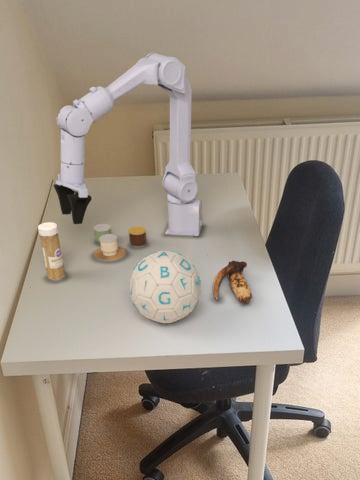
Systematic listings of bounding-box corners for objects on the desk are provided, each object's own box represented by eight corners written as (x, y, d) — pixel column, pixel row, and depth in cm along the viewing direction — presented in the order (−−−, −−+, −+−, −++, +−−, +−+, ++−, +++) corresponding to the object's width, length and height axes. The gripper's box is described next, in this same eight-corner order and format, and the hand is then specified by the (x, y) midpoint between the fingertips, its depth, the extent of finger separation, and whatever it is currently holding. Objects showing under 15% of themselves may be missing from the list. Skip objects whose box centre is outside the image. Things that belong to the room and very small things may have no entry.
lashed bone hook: (207, 276, 145) (218, 311, 130) (206, 258, 142) (217, 292, 128) (244, 272, 145) (259, 307, 131) (244, 254, 142) (259, 288, 128)
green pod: (114, 238, 163) (112, 223, 161) (109, 245, 160) (108, 230, 157) (98, 238, 164) (96, 223, 161) (93, 245, 160) (91, 230, 158)
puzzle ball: (199, 300, 135) (198, 237, 125) (202, 335, 123) (202, 269, 114) (133, 302, 135) (127, 240, 125) (130, 338, 123) (124, 272, 114)
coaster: (129, 249, 158) (129, 247, 157) (121, 262, 151) (121, 260, 151) (99, 247, 159) (99, 245, 159) (90, 261, 153) (90, 259, 152)
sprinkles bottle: (60, 282, 144) (51, 229, 135) (44, 280, 145) (33, 227, 136) (68, 274, 147) (60, 222, 139) (52, 272, 148) (43, 220, 140)
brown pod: (148, 241, 161) (147, 226, 158) (144, 249, 157) (143, 233, 155) (132, 241, 162) (130, 226, 159) (127, 248, 158) (126, 233, 155)
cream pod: (120, 249, 156) (119, 234, 154) (116, 257, 153) (114, 241, 150) (103, 248, 157) (102, 233, 154) (99, 256, 153) (97, 240, 151)
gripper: (46, 154, 144) (46, 210, 151) (68, 170, 134) (67, 228, 141) (73, 154, 147) (72, 209, 154) (96, 169, 137) (94, 227, 144)
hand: (71, 218), depth 148 cm, fingers open, 7 cm apart
